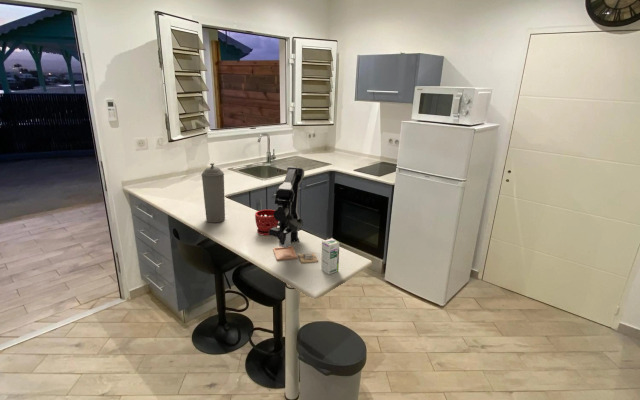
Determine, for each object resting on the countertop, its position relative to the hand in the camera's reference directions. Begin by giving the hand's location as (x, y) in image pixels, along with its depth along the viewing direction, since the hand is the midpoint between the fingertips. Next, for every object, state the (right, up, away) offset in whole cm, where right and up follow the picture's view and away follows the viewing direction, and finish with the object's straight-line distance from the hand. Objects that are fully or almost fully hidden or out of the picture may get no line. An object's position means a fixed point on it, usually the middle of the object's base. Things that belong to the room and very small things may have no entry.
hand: (284, 243), depth 172 cm
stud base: (+11, -7, -2) cm, 14 cm away
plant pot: (-13, +3, +26) cm, 29 cm away
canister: (-46, +9, +41) cm, 63 cm away
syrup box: (+21, -11, -12) cm, 27 cm away
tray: (0, -6, +2) cm, 6 cm away
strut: (0, -1, 0) cm, 1 cm away
